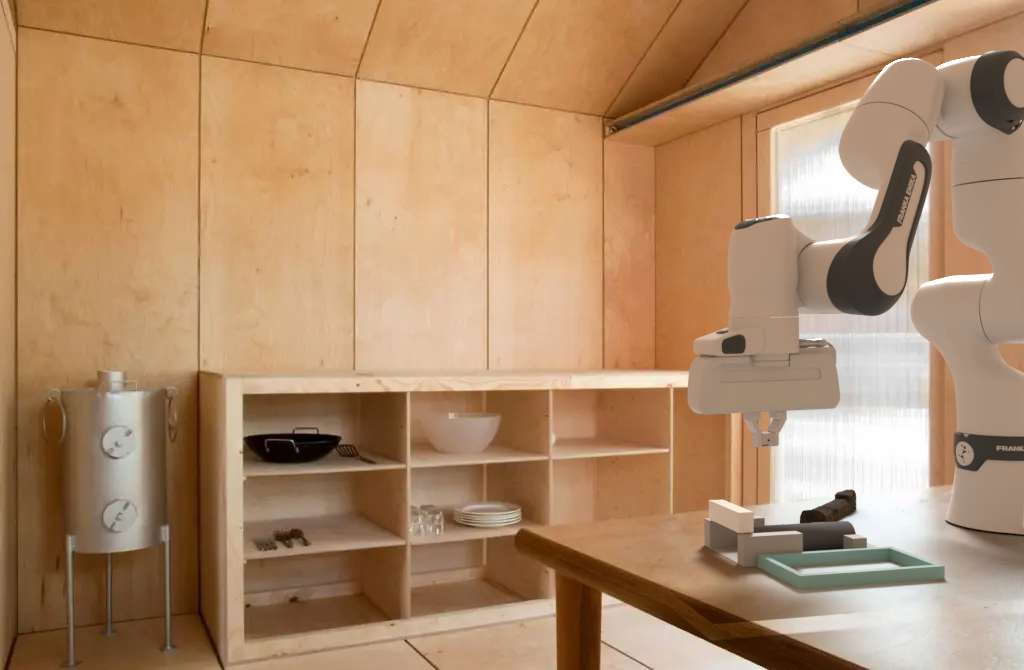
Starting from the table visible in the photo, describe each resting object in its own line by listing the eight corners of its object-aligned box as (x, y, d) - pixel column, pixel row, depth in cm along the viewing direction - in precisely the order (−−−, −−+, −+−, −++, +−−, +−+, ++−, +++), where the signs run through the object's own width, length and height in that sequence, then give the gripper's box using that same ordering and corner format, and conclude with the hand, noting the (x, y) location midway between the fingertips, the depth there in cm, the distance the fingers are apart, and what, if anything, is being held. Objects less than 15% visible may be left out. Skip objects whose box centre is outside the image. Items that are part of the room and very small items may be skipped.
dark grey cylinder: (840, 544, 116) (840, 518, 116) (856, 550, 112) (856, 524, 112) (745, 550, 113) (745, 523, 113) (758, 557, 109) (758, 529, 109)
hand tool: (825, 538, 125) (825, 507, 125) (798, 534, 128) (798, 503, 128) (871, 518, 139) (871, 490, 139) (846, 514, 142) (847, 486, 142)
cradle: (849, 545, 120) (849, 510, 120) (901, 565, 109) (901, 527, 109) (704, 554, 115) (704, 518, 115) (743, 576, 105) (743, 537, 105)
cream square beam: (722, 518, 115) (722, 499, 115) (753, 532, 106) (753, 512, 106) (708, 518, 114) (708, 500, 114) (738, 533, 106) (738, 512, 106)
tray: (891, 566, 109) (891, 546, 109) (944, 588, 100) (944, 566, 100) (757, 575, 105) (757, 554, 105) (800, 599, 95) (799, 576, 95)
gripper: (821, 337, 117) (823, 439, 117) (681, 341, 112) (683, 446, 113) (849, 338, 111) (851, 445, 111) (702, 342, 106) (704, 453, 106)
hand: (765, 446), depth 112 cm, fingers closed
